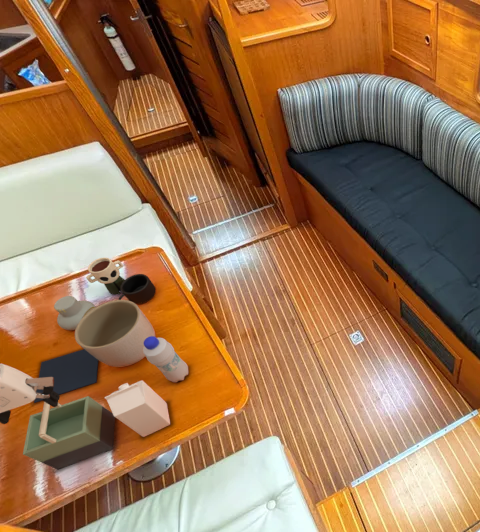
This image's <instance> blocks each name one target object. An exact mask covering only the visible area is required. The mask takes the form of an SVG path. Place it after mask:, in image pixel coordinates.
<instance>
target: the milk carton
mask: <svg viewBox="0 0 480 532" xmlns="http://www.w3.org/2000/svg"><path fill="white" fill-rule="evenodd" d="M117 389H118V390H115V391H113V392H111V393H110V394H108V395H106V396H104V399H105V400H106V402H107V405H108V406H109V408H110V412H111V413H113V415H114V417H115V419H117V420H119V421H120V422H122V424H124V425H125V426H127V427H128V428H130V429H131V430H133V431H134V432H135V433H137V434H138V435H139V436H141V437H143V438H144V437H147V436H149V435H151V434H154V433H155V432H158V431H160V430H162V429H164V428H166V427H168V426H170V425H171V419H170V414H169V409H168V408H169V407H168V403H167V401H165V400H164V399H163V398H162V397H161V396H160V395H159V394H158V393H157V392H156V391H154V390H153V389H152V387H150V385H149V384H147V383H146V382H145V381H144V380H143V379H141V380H139V381H137V382H134V383H132V384H129V383H128V382H125V383H123V384H121V385H120V386H118V388H117Z"/></svg>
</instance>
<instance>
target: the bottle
mask: <svg viewBox="0 0 480 532" xmlns="http://www.w3.org/2000/svg"><path fill="white" fill-rule="evenodd" d="M143 352H144V354H145V358H146V359H147V361H148V362H149V363H150V364H151V365H154V366H155V367H156V368H157V369H158V370H159V371H160V372H161V373H162V374H163V377H165V379H166V380H167V381H170V382H172V383H178V382H179V381H184V380H185V377H186V376H188V375H189V365H188V364H187V363H186V362H185V361H184V360H183V359H182V358H181V357H180V355H178V353H177V352H176V351H175V348H174V347H173V345H172V343H170V342H169V341H168V340H167V339H165V338H163V337H156V336H155V337H154V336H150V337H148V338H146V339H145V340H144V349H143Z"/></svg>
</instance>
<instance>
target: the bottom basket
mask: <svg viewBox="0 0 480 532" xmlns="http://www.w3.org/2000/svg"><path fill="white" fill-rule="evenodd" d="M115 421H116V417H114V415H113V413H112V411H111V410H109V409H107V408H106V407H105V406H103V405H102V419H101V433H100V441H98V442H96V443H93V444H90V445H87V446H85V447H82V448H79V449H77V450H74V451H71V452H68V453H66V454H63V455H60V456H57V457H55V458H52V459H49V460H46V461H44V462H40V463H41V464H44V465H46V466H48V467H51V468H53V469H54V470H61V469H64V468H66V467H69V466H72V465H74V464H77V463H80V462H82V461H86V460H88V459H91V458H93V457H96V456H98V455H101V454H104V453H107V452H109V451H112V450H114V445H115V444H114V443H115V426H116V425H115V424H116V423H115Z"/></svg>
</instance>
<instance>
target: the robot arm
mask: <svg viewBox="0 0 480 532" xmlns="http://www.w3.org/2000/svg"><path fill="white" fill-rule="evenodd" d="M53 388H54V378H53V377H44V378H39V377H33V376H30V375H29V374H27V373H25V372H23V371H21V370H20V369H17V368H15V367H12V366H10V365H7V364H4V363H0V423H1V424H2V425H6V424H8V423H9V421H10V417H11V412H12V411H11V410H14V409H17V408H20V407H22V406H25V405H27V404H28V405H29V404H30V403H33V402H34V400H35V398H43V401H42V402H43V403H44V402H46V403H47V404H49V405H50V407H51V408H54V407H56V406H58V403H59V401H60V398H61V395H59V394H58V393H56V392H54V391H53ZM37 389H42V390H43V393H36V391H37Z"/></svg>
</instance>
